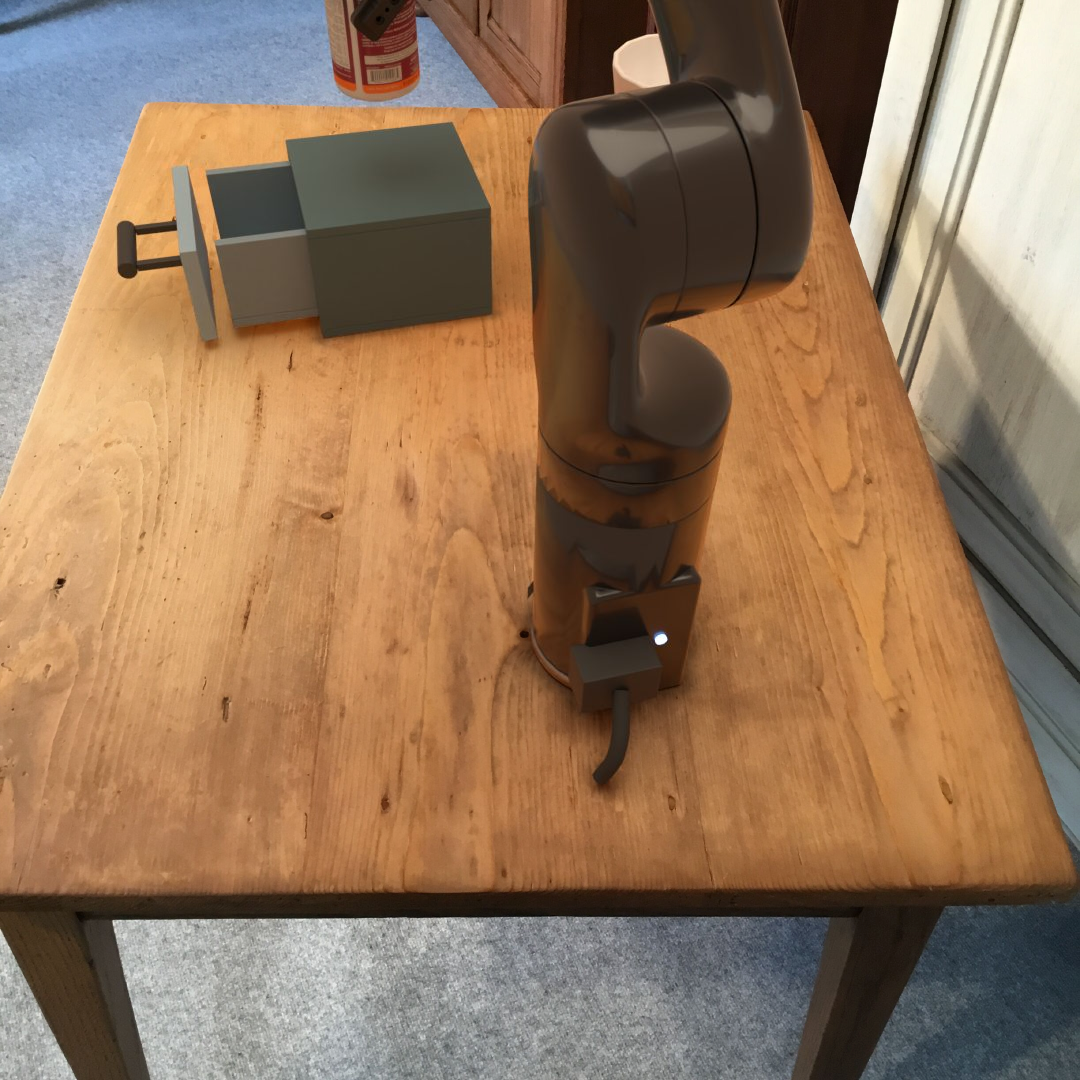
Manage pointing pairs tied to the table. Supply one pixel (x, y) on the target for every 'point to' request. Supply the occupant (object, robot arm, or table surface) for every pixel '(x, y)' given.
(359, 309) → the cabinet
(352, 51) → the pill bottle
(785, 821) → the table surface
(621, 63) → the cup
